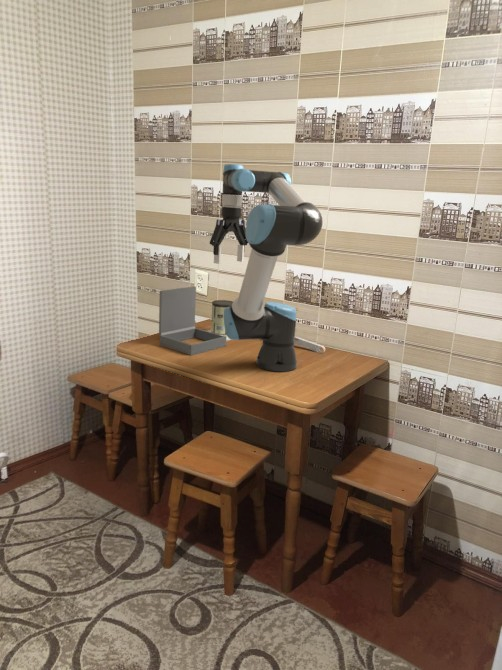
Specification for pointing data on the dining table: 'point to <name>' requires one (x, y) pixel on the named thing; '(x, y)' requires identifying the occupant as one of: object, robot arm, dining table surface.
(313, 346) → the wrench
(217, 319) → the coffee can
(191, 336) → the case
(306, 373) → the dining table surface
